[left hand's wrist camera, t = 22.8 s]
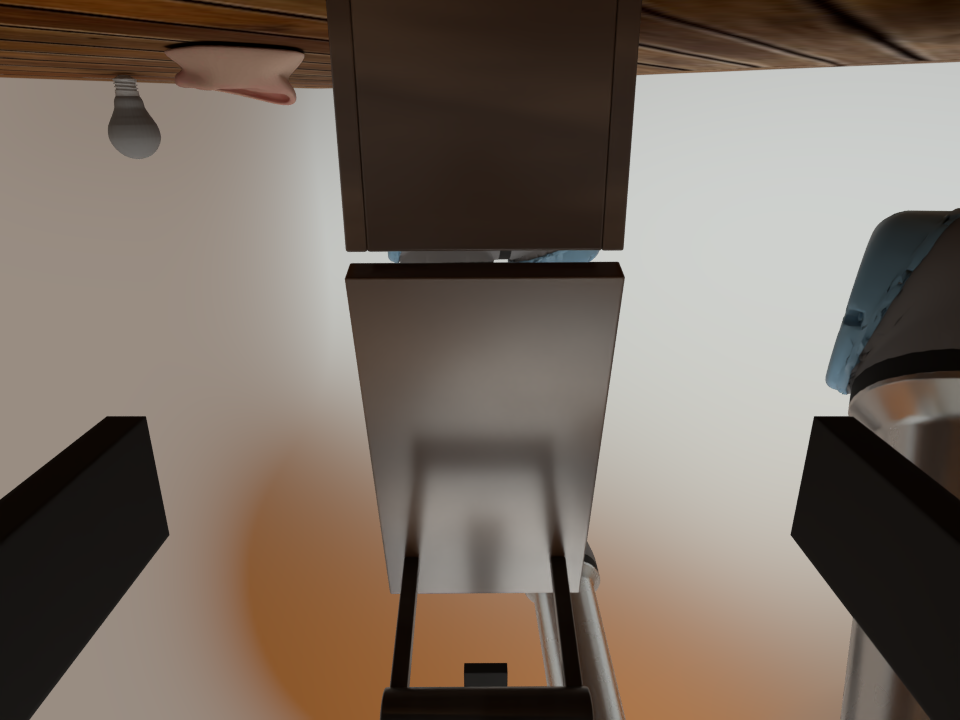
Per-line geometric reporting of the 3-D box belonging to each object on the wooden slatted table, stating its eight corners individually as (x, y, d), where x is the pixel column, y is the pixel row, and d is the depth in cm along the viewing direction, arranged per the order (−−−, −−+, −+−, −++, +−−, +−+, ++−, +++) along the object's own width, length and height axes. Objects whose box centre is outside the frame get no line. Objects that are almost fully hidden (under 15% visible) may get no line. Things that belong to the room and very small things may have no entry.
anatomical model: (173, 102, 48) (328, 102, 52) (163, 42, 46) (323, 48, 51) (172, 105, 59) (299, 105, 63) (164, 57, 57) (294, 61, 62)
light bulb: (140, 73, 77) (156, 159, 81) (156, 76, 83) (170, 157, 87) (87, 73, 77) (105, 160, 80) (107, 76, 82) (123, 157, 86)
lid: (576, 573, 33) (606, 776, 25) (392, 574, 33) (367, 777, 25) (619, 261, 22) (691, 445, 15) (349, 262, 22) (284, 447, 15)
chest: (569, 9, 34) (562, 194, 38) (393, 10, 34) (401, 195, 38) (648, -84, 18) (623, 250, 22) (318, -83, 18) (345, 252, 22)
